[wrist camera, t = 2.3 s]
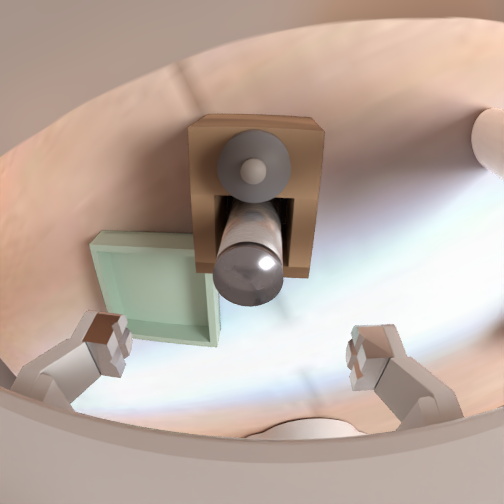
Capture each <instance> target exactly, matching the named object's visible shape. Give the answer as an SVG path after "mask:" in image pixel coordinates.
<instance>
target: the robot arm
mask: <svg viewBox="0 0 504 504" xmlns="http://www.w3.org/2000/svg"><path fill="white" fill-rule="evenodd" d="M127 323H128V321H127V319H126V316H125V315H123V314H116V313H109V312H102V311H94V310H88V311H86V312H85V314H84V316H83V317H82V319H81V321H80V322H79V324H78V326H77V328H76V329H75V331H74V333H73V335H72V336H71V338H70V339H66V340H64V341H62V342H61V343H59V344H58V345H56V346H55V347H53V348H51V349H50V350H48V351H47V352H45V353H44V354H42V355H40V356H39V357H37V358H36V359H34V360H33V361H31V362H29V363H28V364H26V365H25V366H23V367H22V369H21V371H20V373H19V374H18V376H17V378H16V380H15V382H14V383H13V385H12V387H11V389H10V390H7V389H5V388H2V387H0V504H504V406H503V407H500V408H497V409H493V410H490V411H486V412H483V413H479V414H476V415H472V416H468V417H464V416H463V413H462V411H461V408H460V405H459V403H458V400H457V397H456V395H455V392H454V391H453V390H452V389H451V388H449V387H448V386H447V385H446V384H444V383H443V382H442V381H441V380H439V379H438V378H437V377H436V376H434V375H433V374H432V373H431V372H430V371H428V370H427V369H426V368H425V367H423V366H422V365H421V364H420V363H418V362H417V361H416V360H415V359H413V358H412V357H407V354H406V352H405V349H404V346H403V344H402V341H401V339H400V336H399V334H398V331H397V329H396V327H395V325H394V324H387V325H355V326H354V327H353V329H352V332H351V335H352V339H351V340H350V341H349V342H348V345H347V348H346V362H347V367H348V368H349V369H350V370H352V371H351V373H350V376H349V377H350V382H351V387H352V391H361V390H374V392H375V393H376V394H377V395H378V396H379V397H380V398H381V400H382V401H383V402H384V403H385V404H386V405H387V406H388V408H389V409H390V410H391V411H392V412H393V413H394V414H395V416H396V417H397V418H398V419H399V420H400V421H401V422H402V423H401V424H400V426H399V427H398V428H397V429H396V431H392V432H385V433H377V434H368V435H367V434H365V433H362V432H358V431H357V430H356V429H355V428H354V427H353V426H352V425H350V424H349V423H346V422H343V421H340V420H334V419H304V420H297V421H292V422H287V423H284V424H281V425H278V426H275V427H273V428H271V429H269V430H267V431H266V432H263V433H260V434H255V435H251V436H248V437H246V438H231V437H217V436H206V435H196V434H187V433H179V432H171V431H164V430H158V429H152V428H146V427H140V426H135V425H130V424H125V423H120V422H115V421H110V420H106V419H102V418H97V417H93V416H89V415H85V414H82V413H78V412H75V410H74V409H73V408H72V406H71V405H70V404H71V403H72V402H73V401H74V400H75V399H76V398H77V397H78V396H79V395H80V394H82V393H83V392H84V391H85V390H86V389H87V388H88V387H89V386H90V385H91V384H93V383H94V382H95V381H96V380H97V379H98V378H99V377H100V376H101V375H105V376H111V377H118V378H121V376H122V373H123V371H124V368H125V365H126V363H125V361H124V359H125V358H126V357H128V356H129V355H130V352H131V349H132V335H131V331H130V330H129V329H128V328H127V327H126V325H127Z"/></svg>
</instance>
